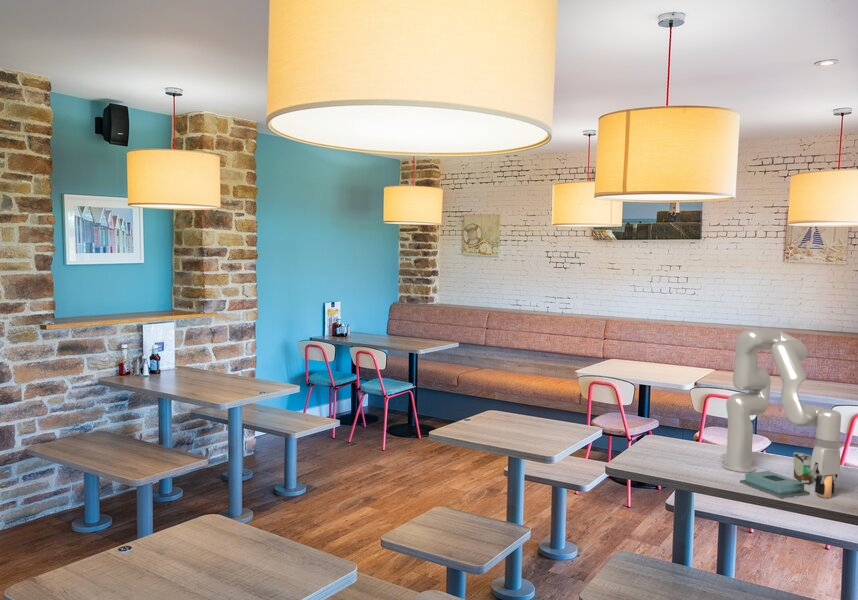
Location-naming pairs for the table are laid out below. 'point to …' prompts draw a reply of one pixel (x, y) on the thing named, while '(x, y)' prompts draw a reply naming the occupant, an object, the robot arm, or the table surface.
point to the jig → (775, 484)
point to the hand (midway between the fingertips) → (824, 492)
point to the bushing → (827, 486)
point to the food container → (802, 467)
